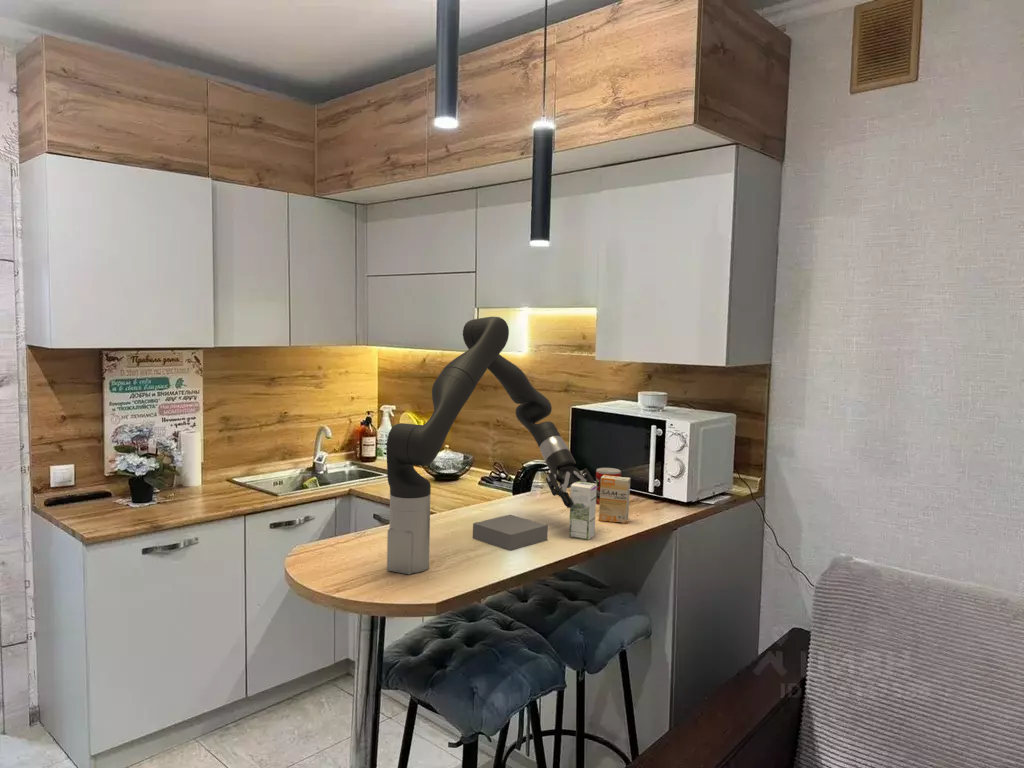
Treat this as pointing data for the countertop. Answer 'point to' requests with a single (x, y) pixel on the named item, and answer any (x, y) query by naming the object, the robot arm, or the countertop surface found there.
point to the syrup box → (582, 510)
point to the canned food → (600, 473)
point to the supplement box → (614, 499)
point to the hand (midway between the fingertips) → (582, 504)
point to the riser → (510, 532)
